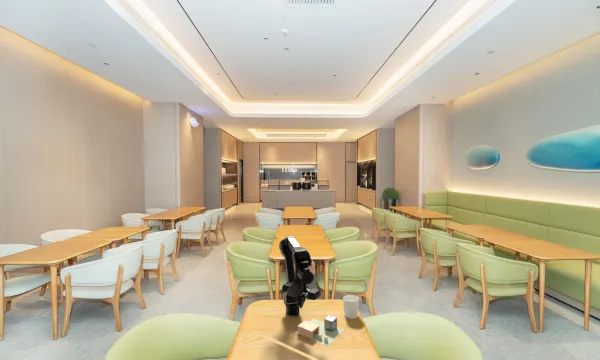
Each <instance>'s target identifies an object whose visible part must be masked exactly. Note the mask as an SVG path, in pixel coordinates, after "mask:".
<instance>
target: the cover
mask: <svg viewBox="0 0 600 360" xmlns="http://www.w3.org/2000/svg"><path fill="white" fill-rule="evenodd" d="M297 330H298V334H297V335H299V334H300V335H299V336H301V335H303V336H305V337H304V338H306V337H308V338H310V339H309V340H311V339H313V332H315V333H317V334H319V325H316V324H314V323H311V322H309V321H308V320H304V321H302V322H300V323H299V324H298V325H297ZM303 336H302V337H303ZM308 338H307V339H308Z"/></svg>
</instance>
